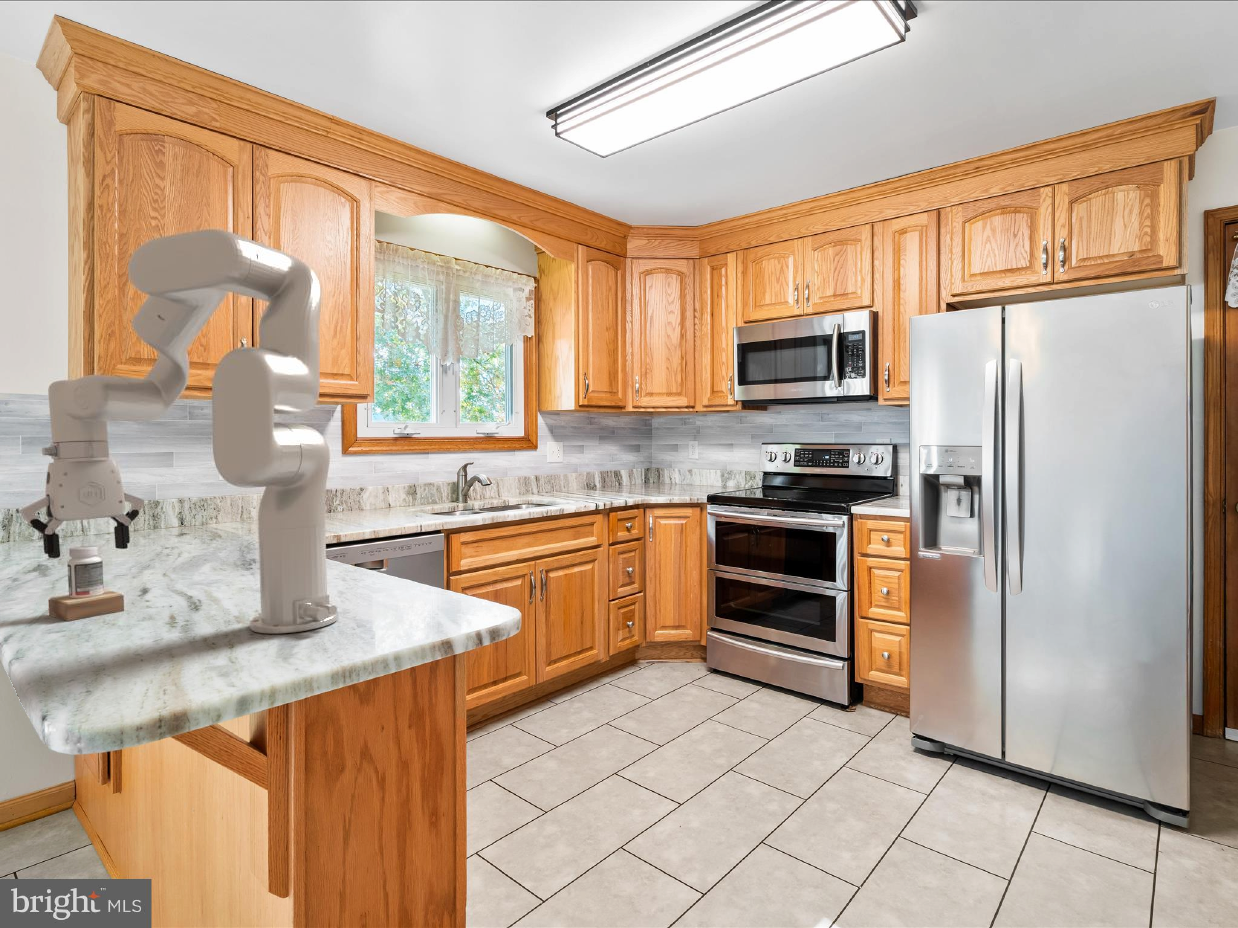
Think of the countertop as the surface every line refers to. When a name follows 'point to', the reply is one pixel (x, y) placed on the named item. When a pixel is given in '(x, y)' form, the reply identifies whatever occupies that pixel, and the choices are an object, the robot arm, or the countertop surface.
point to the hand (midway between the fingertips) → (89, 552)
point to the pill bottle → (85, 572)
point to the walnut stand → (85, 606)
